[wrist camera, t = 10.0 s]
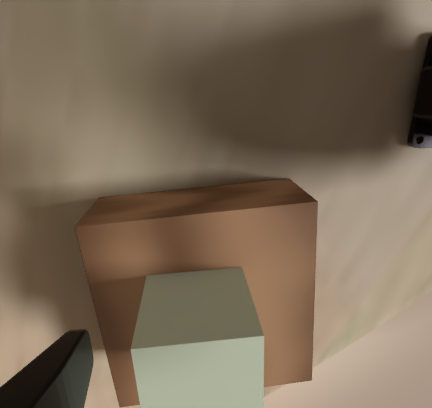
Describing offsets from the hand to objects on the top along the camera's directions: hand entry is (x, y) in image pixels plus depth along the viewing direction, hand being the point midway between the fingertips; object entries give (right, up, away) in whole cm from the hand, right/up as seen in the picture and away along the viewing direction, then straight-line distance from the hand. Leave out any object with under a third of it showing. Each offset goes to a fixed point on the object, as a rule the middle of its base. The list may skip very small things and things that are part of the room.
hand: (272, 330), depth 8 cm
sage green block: (-2, -3, +9) cm, 10 cm away
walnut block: (-2, -1, +14) cm, 15 cm away
